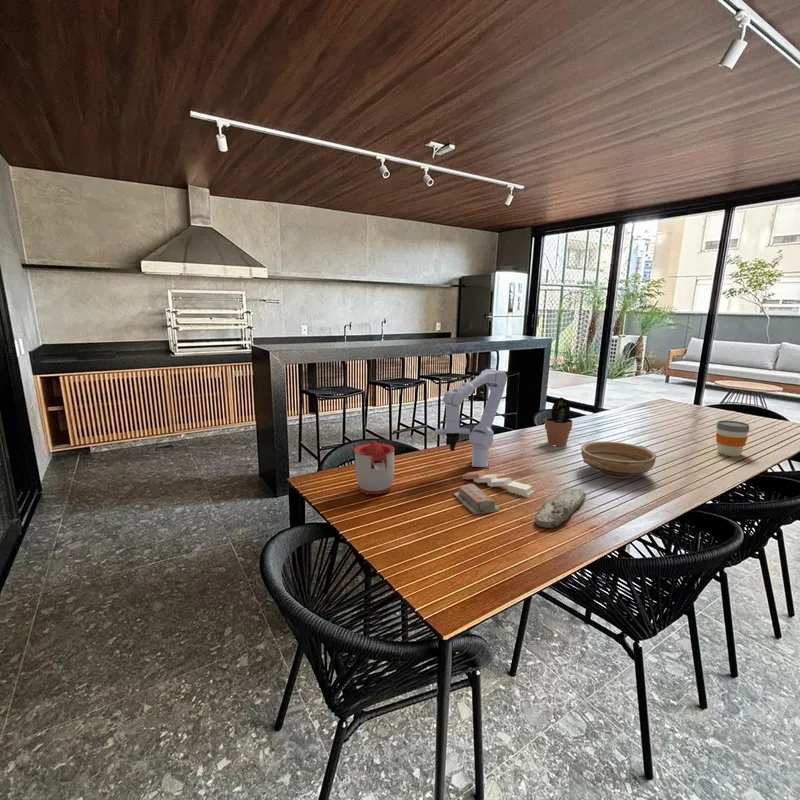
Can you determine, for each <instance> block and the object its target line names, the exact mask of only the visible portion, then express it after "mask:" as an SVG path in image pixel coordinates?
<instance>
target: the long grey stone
mask: <svg viewBox="0 0 800 800" xmlns="http://www.w3.org/2000/svg"><path fill="white" fill-rule="evenodd" d="M586 496H587V494H586V492H585V491H584V490H583V489H580V488H572V489H566V490H564V491H563V492H561V493H560V494H558V495H556V496H555V498H553V499H552V500H549V501H546V502H544V503H543V505H542V506H541V507H540V509H538V511H537V512H536V515H535V517H534V522H535V524H536V526H538V527H541V528H546V529H547V528H548V529H552V528H555V527H558V526H560V525H561V524H562V523H563V522H567V520H568V518H569V517H570V516H571V515H572V514H573V512H574V511H576V510H577V509H578V507H581V505H582V503H584V501H585V498H586Z"/></svg>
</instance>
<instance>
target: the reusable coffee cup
mask: <svg viewBox="0 0 800 800" xmlns="http://www.w3.org/2000/svg"><path fill="white" fill-rule="evenodd" d="M749 432H750V424H748V423H746V422H742V421H736V420H718V421H717V423H716V433H715V434H716V436H715V437H716V439H715V440H716V441H715V442H716V443H717V453H718V452H719V453H718V454H720V453H721V454H720V455H723V454H724V456H727V455H729V456H728V457H741V456H740V455H742V453H743V448H744V447H746V444H747V440H748V433H749Z"/></svg>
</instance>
